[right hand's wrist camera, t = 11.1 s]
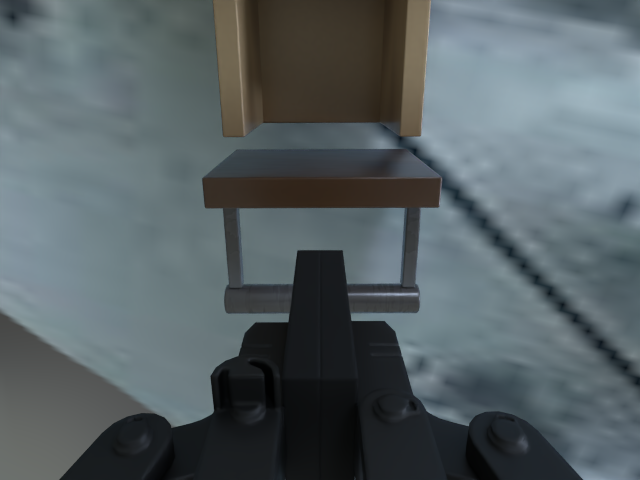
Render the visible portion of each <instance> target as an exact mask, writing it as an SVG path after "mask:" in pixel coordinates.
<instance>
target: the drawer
mask: <svg viewBox="0 0 640 480" xmlns="http://www.w3.org/2000/svg"><path fill="white" fill-rule="evenodd" d="M430 7H431V0H213V10H214V23H215V36H216V49H217V63H218V76H219V89H220V102H221V115H222V129H223V137H244V136H246V135H247V134H249V133H250V132H251V131H253V130H254V129H255V128H257V127H258V126H259V125H261V124H262V123H382V124H383V125H384V126H386V127H387V128H389V129H390V130H392V131H393V132H395V133H396V134H398V135H399V136H421V131H422V117H423V103H424V89H425V76H426V62H427V48H428V34H429V20H430ZM202 182H203V193H204V204H205V208H223V215H224V227H225V239H226V252H227V264H228V277H229V285H227V287H226V289H225V296H224V304H225V310H226V313H228V314H256V313H290V307H291V299H292V291H293V284H243V283H244V275H243V260H242V245H241V231H240V216H239V208H405V215H404V231H403V246H402V262H401V278H400V282H401V284H347V291H348V299H349V307H350V313H417V312H418V311H419V307H420V292H419V288H418V285H417V284H415V280H416V267H417V254H418V241H419V228H420V215H421V208H438V207H439V206H440V197H441V186H442V177H441V176H440V175H438V174H437V173H436V172H435V171H433V170H432V169H431V168H429V167H428V166H427V165H426V164H424V163H423V162H422V161H421V160H419V159H418V158H417V157H416V156H414V155H413V154H412V153H410V152H409V151H408V150H407V149H295V150H236V151H235V152H233V153H232V154H231V155H230V156H229V157H227V158H226V159H225V160H224V161H223V162H221V163H220V164H219V165H218V166H216V167H215V168H214V169H213V170H212V171H210V172H209V173H208V174H207V175H206V176H204V177H203V178H202Z"/></svg>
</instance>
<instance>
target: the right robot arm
mask: <svg viewBox="0 0 640 480" xmlns="http://www.w3.org/2000/svg"><path fill="white" fill-rule="evenodd" d="M211 385H212V394H213V403H214V413H213V414H212V415H210V416H208V417H206V418H204V419H202V420H200V421H197V422H194V423H190V424H186V425H182V426H178V427H174V428H171V425H170V424H169V422H168V421H167V420H166V419H165V418H164V417H162V416H159V415H157V414H149V413H141V414H137V415H132V416H128V417H126V418H124V419H122V420H119V421H117V422H116V423H114V424H112V425H111V426H110V427H109V428H108V429H106V430H105V431H104V432H103V433H102V434H101V435H100V436H99V437H98V438H97V439H96V440H95V441H94V443H93V444H92V445H91V446H90V447H89V448H88V449H87V450H86V451H85V452H84V453H83V455H82V456H81V457H80V458H79V459H78V460H77V461H76V462H75V463H74V464H73V466H72V467H71V468H70V469H69V470H68V471H67V472H66V473H65V474H64V475H63V476H62V477H61V479H60V480H583V479H582V478H581V477H580V476H579V475H578V474H577V473H576V472H575V471H574V469H573V468H572V467H571V466H570V465H569V464H568V463H567V462H566V461H565V460H564V459H563V457H562V456H561V455H560V454H559V453H558V452H557V451H556V450H555V449H554V448H553V447H552V446H551V444H550V443H549V442H548V441H547V440H546V439H545V438H544V437H543V436H542V435H541V434H540V433H539V431H538V430H536V429H535V428H534V427H533V426H531V425H530V424H529V423H528V422H527V421H525V420H523V419H520V418H518V417H516V416H514V415H512V414H507V413H503V412H499V411H498V412H484V413H482V414H479V415H477V416H475V417H474V418H473V420H472V421H471V422H470V424H469V426H465V425H461V424H457V423H452V422H449V421H445V420H442V419H439V418H437V417H435V416H433V415H431V414H430V413H428V412H427V411H426V409H425V408H424V406H423V404H422V402H421V401H420V400H419V399H418V398H416V397H415V396H414V395H413V392H412V389H411V386H410V382H409V379H408V375H407V372H406V368H405V365H404V361H403V358H402V356H401V351H400V347H399V345H398V340H397V337H396V333H395V331H394V330H393V329H392V328H391V327H390V326H389V325H388V324H387V323H386V322H385V321H351V315H350V307H349V299H348V291H347V283H346V275H345V267H344V259H343V251H342V250H298V251H297V259H296V267H295V275H294V283H293V291H292V299H291V307H290V315H289V322H256V323H255V324H254V325H253V326H252V327H251V328H250V329H249V330H248V331H247V332H246V333H245V335H244V339H243V342H242V348H241V349H240V353H239V356H238V357H235V358H232V359H229V360H226V361H225V362H223V363H222V364H220V365H219V366H218V367H216V368H215V370H214V371H213V373H212V374H211Z"/></svg>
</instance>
